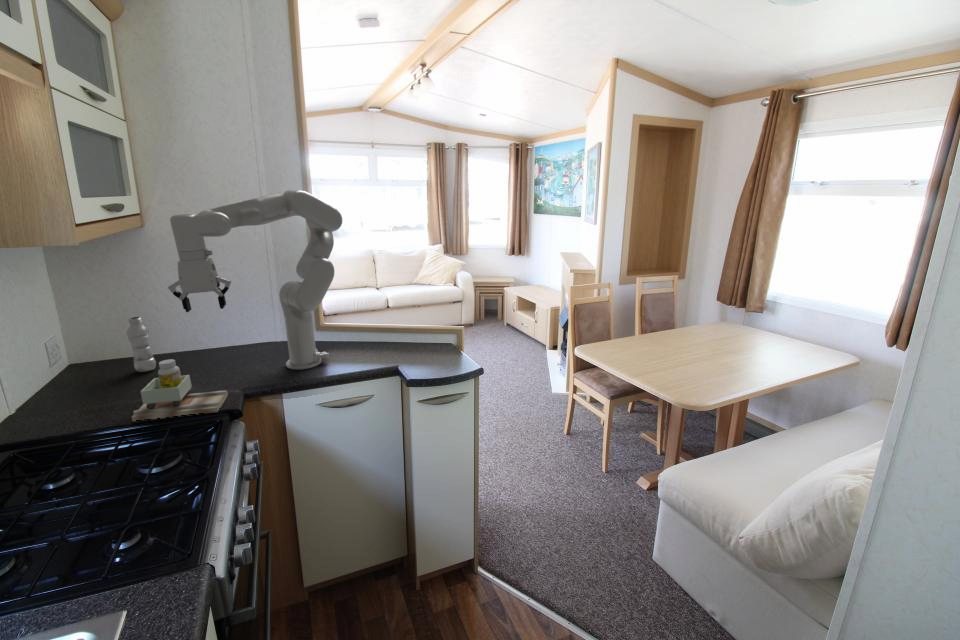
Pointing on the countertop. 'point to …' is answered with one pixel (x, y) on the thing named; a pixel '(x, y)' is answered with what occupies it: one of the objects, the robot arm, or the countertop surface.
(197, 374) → the countertop surface
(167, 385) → the supplement bottle
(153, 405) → the sage green storage bin
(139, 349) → the plastic bottle
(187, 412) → the track
